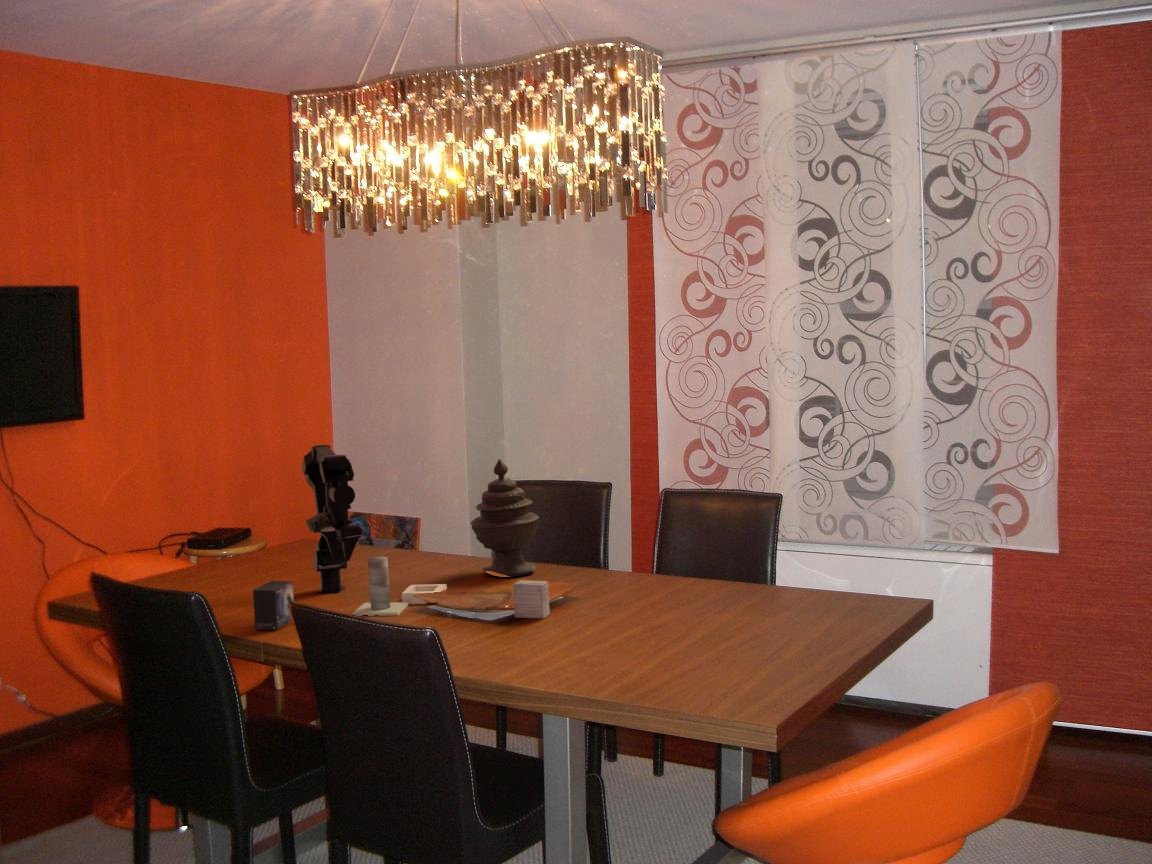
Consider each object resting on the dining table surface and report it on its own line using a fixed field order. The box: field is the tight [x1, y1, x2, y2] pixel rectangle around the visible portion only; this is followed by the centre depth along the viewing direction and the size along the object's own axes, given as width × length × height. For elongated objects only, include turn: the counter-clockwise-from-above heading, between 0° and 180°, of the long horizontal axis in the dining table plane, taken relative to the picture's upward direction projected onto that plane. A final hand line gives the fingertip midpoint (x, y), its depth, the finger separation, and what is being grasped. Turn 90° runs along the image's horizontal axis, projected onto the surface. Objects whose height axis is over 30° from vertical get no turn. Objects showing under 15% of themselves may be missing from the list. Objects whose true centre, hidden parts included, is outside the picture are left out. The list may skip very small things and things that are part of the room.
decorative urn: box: [470, 458, 540, 578], centre depth 335 cm, size 20×20×35 cm
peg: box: [367, 556, 391, 610], centre depth 297 cm, size 5×5×13 cm
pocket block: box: [401, 583, 448, 605], centre depth 308 cm, size 10×10×3 cm
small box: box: [252, 580, 295, 631], centre depth 287 cm, size 11×6×10 cm, turn 168°
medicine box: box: [512, 580, 551, 619], centre depth 284 cm, size 8×4×9 cm, turn 71°
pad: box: [351, 601, 410, 617], centre depth 298 cm, size 11×12×1 cm
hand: (340, 558), depth 309 cm, fingers open, 9 cm apart
